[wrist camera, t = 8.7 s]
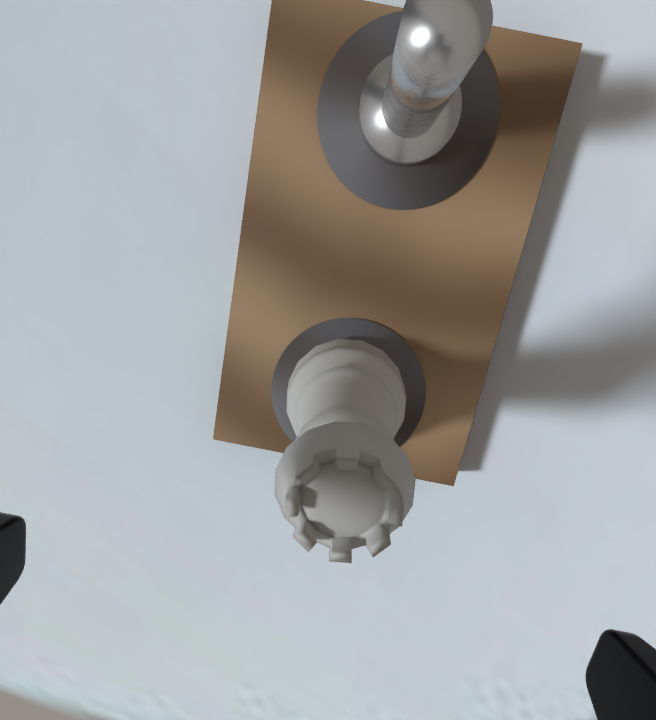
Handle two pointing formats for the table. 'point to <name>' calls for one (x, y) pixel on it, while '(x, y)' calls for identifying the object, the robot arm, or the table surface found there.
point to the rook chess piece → (345, 450)
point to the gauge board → (383, 225)
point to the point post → (423, 79)
